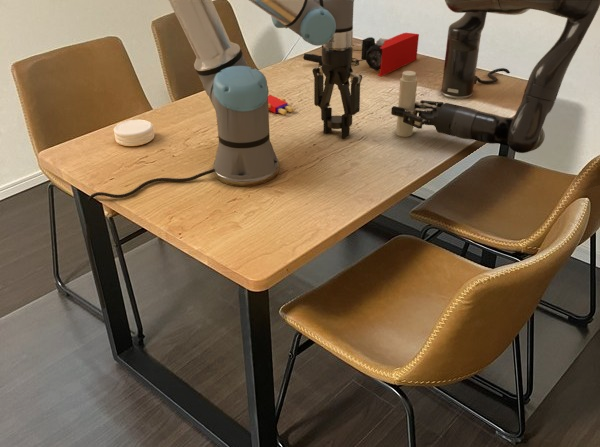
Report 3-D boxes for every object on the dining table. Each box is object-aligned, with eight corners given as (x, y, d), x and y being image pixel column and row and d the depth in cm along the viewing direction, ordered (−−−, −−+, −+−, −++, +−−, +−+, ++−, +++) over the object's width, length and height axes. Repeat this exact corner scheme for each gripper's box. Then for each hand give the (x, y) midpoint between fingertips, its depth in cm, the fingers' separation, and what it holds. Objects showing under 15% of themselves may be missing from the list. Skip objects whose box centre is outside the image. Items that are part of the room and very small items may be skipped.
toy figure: (297, 104, 175) (269, 91, 182) (279, 110, 172) (251, 97, 178) (297, 112, 177) (269, 99, 184) (279, 119, 173) (251, 105, 180)
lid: (324, 128, 160) (324, 121, 159) (330, 120, 164) (330, 114, 163) (343, 130, 159) (343, 123, 158) (348, 122, 163) (348, 116, 162)
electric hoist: (302, 34, 206) (381, 48, 191) (344, 20, 225) (419, 32, 210) (301, 64, 211) (379, 80, 196) (343, 48, 230) (416, 62, 215)
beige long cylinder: (393, 134, 162) (397, 73, 154) (401, 128, 165) (406, 69, 156) (407, 138, 160) (412, 76, 151) (415, 132, 163) (421, 72, 154)
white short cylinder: (127, 150, 156) (124, 137, 154) (108, 138, 162) (106, 125, 160) (161, 139, 161) (159, 126, 159) (142, 127, 168) (140, 115, 166)
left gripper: (298, 44, 153) (300, 132, 165) (360, 56, 143) (357, 148, 156) (315, 37, 158) (316, 122, 170) (377, 48, 148) (373, 137, 161)
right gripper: (472, 98, 155) (410, 85, 163) (448, 116, 145) (384, 102, 154) (468, 125, 159) (407, 112, 167) (445, 145, 149) (382, 130, 158)
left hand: (336, 134), depth 163 cm, fingers closed on lid, 5 cm apart
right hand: (396, 107), depth 160 cm, fingers closed on beige long cylinder, 4 cm apart
